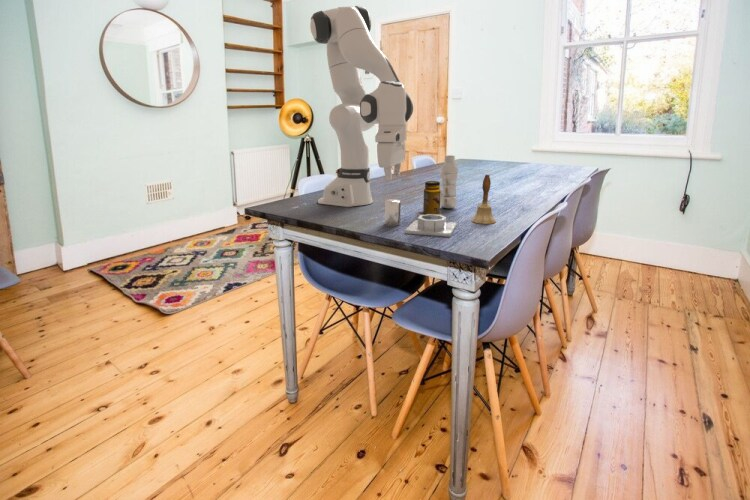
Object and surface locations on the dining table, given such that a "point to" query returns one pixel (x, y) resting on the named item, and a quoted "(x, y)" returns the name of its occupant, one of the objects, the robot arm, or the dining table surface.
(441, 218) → the duct flange
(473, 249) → the dining table surface
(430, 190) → the condiment
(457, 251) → the dining table surface
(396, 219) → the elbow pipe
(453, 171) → the plastic bottle
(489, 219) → the hand bell
